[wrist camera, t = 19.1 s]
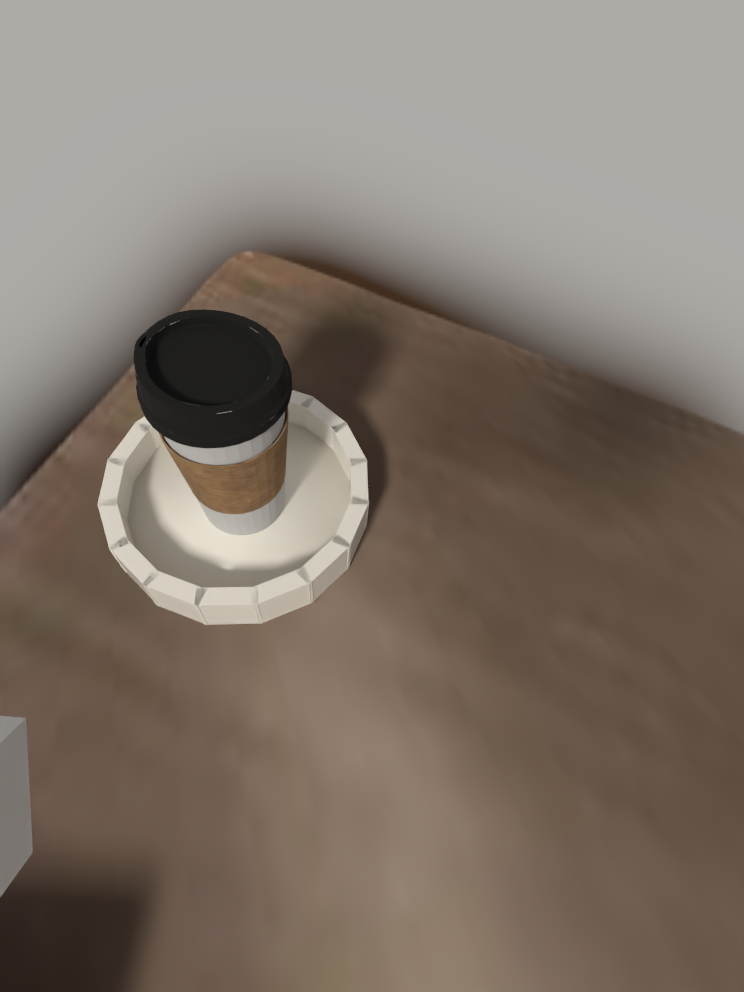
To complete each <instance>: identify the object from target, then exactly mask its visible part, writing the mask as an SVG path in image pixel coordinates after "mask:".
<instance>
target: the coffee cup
mask: <svg viewBox="0 0 744 992" xmlns="http://www.w3.org/2000/svg"><path fill="white" fill-rule="evenodd" d="M134 370H135V376H136V380H137V385H136V389H137V396H138V400H139V402H140V405H141V408H142V411H143V413H144V415H145V418H146V419H147V421H148V422H149V423H150V424H151V426H152V427H153V428H154V429H155V430H157V431H158V433H159V435H160V437H161V440H162V442H163V443H164V445H165V447H166V448H167V450H168V452H169V453H170V455H171V457H172V458H173V460H174V462H175V464H176V465H177V467H178V469H179V470H180V472H181V474H182V475H183V477H184V479H185V480H186V482H187V484H188V485H189V487H190V489H191V491H192V492H193V494H194V495H195V497H196V498H197V500H198V502H199V504H200V506H201V507H202V509H203V511H204V513H205V515H206V517H207V518H208V520H209V521H210V522H211V523H212V524H213V525H214V526H215V527H216V528H217V529H219V530H221V531H223V532H225V533H228V534H232V535H250V534H254V533H257V532H260V531H262V530H264V529H266V528H267V527H269V526H270V525H271V524H272V523H274V522H275V521H276V519H277V518H278V517H279V515H280V514H281V511H282V509H283V506H284V501H285V474H286V455H287V435H288V404H289V402H290V398H291V394H292V378H291V370H290V367H289V364H288V362H287V360H286V358H285V357H284V355H283V352H282V349H281V346H280V344H279V343H278V341H277V340H276V338H275V337H274V336H273V335H272V334H271V333H270V332H269V331H268V330H267V329H266V328H264V327H263V326H261V325H260V324H258V323H257V322H254V321H252V320H250V319H248V318H246V317H243V316H239V315H236V314H233V313H228V312H223V311H216V310H189V311H183V312H178V313H175V314H172V315H170V316H167V317H166V318H163V319H162V320H160V321H158V322H157V323H156V324H154V325H153V326H151V327H150V328H149V329H148V330H147V331H146V332H144V333H143V334H142V335H141V336H140V337H139V339H138V340H137V342H136V344H135V350H134Z"/></svg>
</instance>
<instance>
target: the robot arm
mask: <svg viewBox="0 0 744 992" xmlns="http://www.w3.org/2000/svg"><path fill="white" fill-rule="evenodd" d="M32 853H33V849H32V830H31V810H30V790H29V771H28V751H27V732H26V718H19V717H8V716H0V897H1V896H2V894H3V893H4V892H5V890H6V889H7V887H8V886H9V885H10V883H11V882H12V881H13V879H14V878H15V876H16V875H17V874H18V872H19V871H20V869H21V868H22V867H23V865H24V864H25V862H26V861H27V860H28V858H29V857H30V856H31V854H32Z"/></svg>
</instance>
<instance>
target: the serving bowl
mask: <svg viewBox="0 0 744 992" xmlns="http://www.w3.org/2000/svg"><path fill="white" fill-rule="evenodd" d="M97 504H98V505H97V506H98V508H99V511H100V515H101V519H102V523H103V526H104V530H105V534H106V538H107V541H108V545H109V549H110V551H111V553H112V554H113V556H114V557H115V558H116V560H117V561H118V562H119V564H120V565H121V567H122V568H123V569H124V571H125V572H127V573H128V574H129V576H130V577H131V578H132V579H133V580H134V581H135V582H136V583H137V584H138V585H139V586H140V587H141V588H142V589H143V590H144V591H145V593H146V594H147V595H148V596H149V597H150V598H151V599H152V600H153V601H154V602H155V604H156V605H157V606H160V607H163V608H165V609H168V610H170V611H173V612H175V613H178V614H181V615H183V616H186V617H188V618H191V619H193V620H196V621H198V622H201V623H204V625H210V624H261V623H264V622H266V621H269V620H271V619H274V618H276V617H278V616H281V615H283V614H286V613H288V612H291V611H293V610H296V609H298V608H301V607H303V606H306V605H308V604H311V603H313V601H314V600H315V599H316V598H318V597H319V596H320V595H321V594H322V593H323V592H324V591H325V590H326V589H327V588H328V587H329V586H330V585H331V584H332V583H333V582H334V581H335V580H337V579H338V578H339V577H340V576H341V575H342V574H343V573H344V572H345V571H346V570H348V568H349V567H350V563H351V561H352V559H353V556H354V554H355V552H356V549H357V547H358V545H359V542H360V540H361V537H362V535H363V533H364V530H365V528H366V526H367V518H368V508H369V500H368V477H367V458H366V457H365V456H364V454H363V452H362V450H361V448H360V446H359V445H358V443H357V441H356V439H355V437H354V435H353V434H352V432H351V430H350V428H349V426H348V424H347V423H346V422H345V421H344V420H342V419H341V418H340V417H338V416H337V415H336V414H335V413H333V412H332V411H331V410H329V409H328V408H327V407H326V406H324V405H323V404H322V403H320V402H319V401H318V400H317V399H315V398H314V397H313V396H310V395H307V394H303V393H300V392H297V391H294V390H292V394H291V398H290V402H289V404H288V435H287V455H286V474H285V501H284V506H283V509H282V511H281V514H280V515H279V517H278V518H277V519H276V521H275V522H274V523H272V524H271V525H270V526H269V527H267V528H266V529H264V530H262V531H260V532H257V533H254V534H250V535H232V534H228V533H225V532H223V531H221V530H219V529H217V528H216V527H215V526H214V525H213V524H212V523H211V522H210V521H209V520H208V518H207V517H206V515H205V513H204V511H203V509H202V507H201V506H200V504H199V502H198V500H197V498H196V497H195V495H194V494H193V492H192V491H191V489H190V487H189V485H188V484H187V482H186V480H185V479H184V477H183V475H182V474H181V472H180V470H179V469H178V467H177V465H176V464H175V462H174V460H173V458H172V457H171V455H170V453H169V452H168V450H167V448H166V447H165V445H164V443H163V442H162V440H161V437H160V435H159V433H158V431H157V430H155V429H154V428H153V427H152V426H151V424H150V423H149V422H148V421H147V419H146V418H145V417H143V418H141V419H140V420H138V421H136V422H135V424H134V425H133V427H132V428H131V429H130V431H129V432H128V433H127V435H126V436H125V437H124V439H123V440H122V441H121V443H120V444H119V446H118V447H117V448H116V450H115V451H114V452H113V454H112V455H111V456H110V458H108V460H107V466H106V470H105V474H104V479H103V483H102V487H101V492H100V496H99V500H98V503H97Z"/></svg>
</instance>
